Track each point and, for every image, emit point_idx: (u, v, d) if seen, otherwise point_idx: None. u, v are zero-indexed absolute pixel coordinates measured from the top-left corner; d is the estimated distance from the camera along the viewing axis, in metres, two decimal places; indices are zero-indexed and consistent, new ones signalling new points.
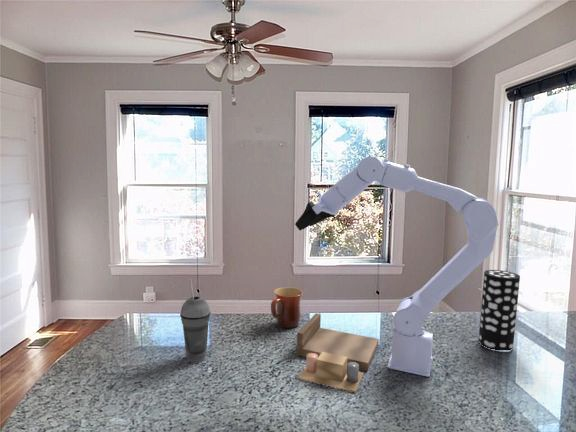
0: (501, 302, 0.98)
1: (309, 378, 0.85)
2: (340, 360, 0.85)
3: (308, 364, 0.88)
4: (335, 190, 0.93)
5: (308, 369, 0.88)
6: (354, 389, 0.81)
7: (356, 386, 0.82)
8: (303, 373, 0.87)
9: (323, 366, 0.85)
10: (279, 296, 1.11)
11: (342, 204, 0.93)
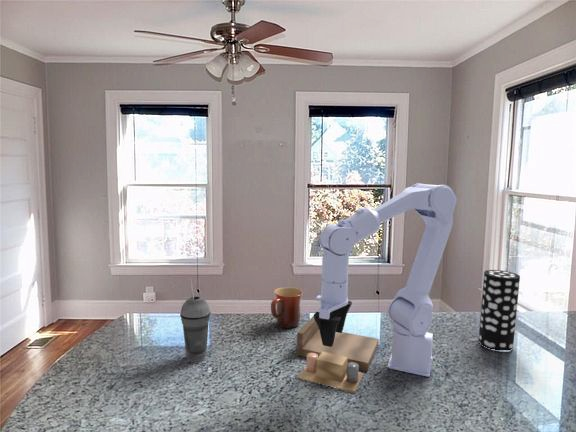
0: (501, 302, 0.98)
1: (309, 378, 0.85)
2: (340, 360, 0.85)
3: (308, 364, 0.88)
4: (325, 283, 0.82)
5: (308, 369, 0.88)
6: (353, 389, 0.81)
7: (356, 386, 0.82)
8: (303, 373, 0.87)
9: (322, 365, 0.85)
10: (279, 296, 1.11)
11: (343, 289, 0.82)
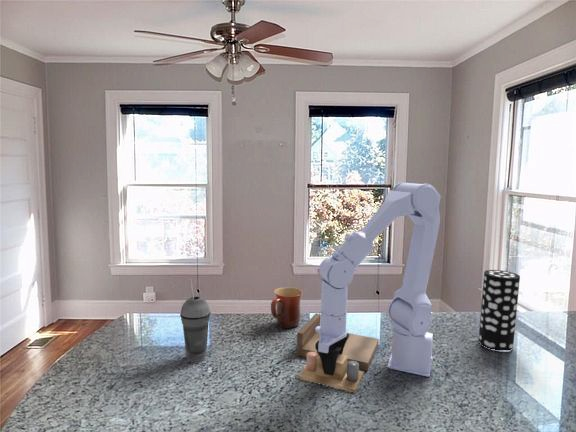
0: (501, 302, 0.98)
1: (309, 376, 0.85)
2: (340, 359, 0.85)
3: (308, 363, 0.88)
4: (324, 316, 0.83)
5: (308, 368, 0.88)
6: (354, 388, 0.81)
7: (356, 385, 0.82)
8: (303, 372, 0.87)
9: None
10: (279, 296, 1.11)
11: (342, 322, 0.83)
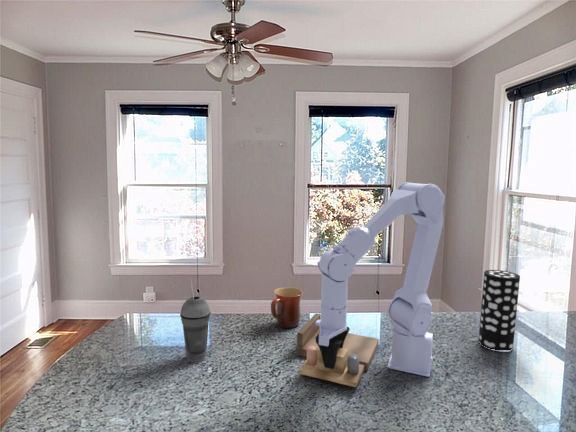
0: (501, 302, 0.98)
1: (309, 370, 0.85)
2: (340, 352, 0.85)
3: (308, 357, 0.87)
4: (325, 309, 0.83)
5: (308, 362, 0.88)
6: (355, 381, 0.81)
7: (357, 378, 0.82)
8: (303, 366, 0.87)
9: None
10: (279, 296, 1.11)
11: (342, 315, 0.83)
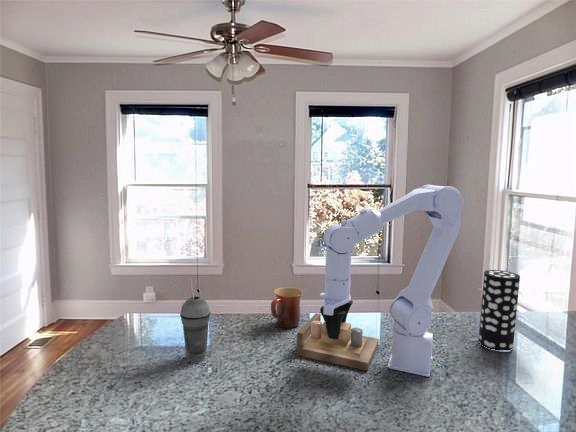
0: (501, 302, 0.98)
1: (314, 343, 0.87)
2: (344, 326, 0.88)
3: (313, 330, 0.90)
4: (329, 281, 0.85)
5: (313, 335, 0.90)
6: (358, 352, 0.83)
7: (360, 350, 0.85)
8: (308, 339, 0.89)
9: None
10: (279, 296, 1.11)
11: (346, 286, 0.85)
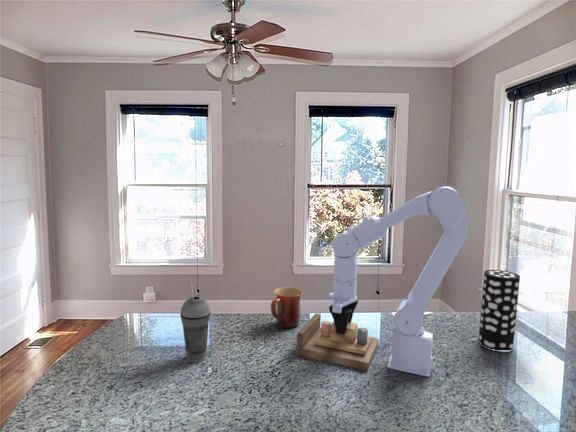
0: (501, 302, 0.98)
1: (324, 341, 0.97)
2: (351, 326, 0.97)
3: (323, 330, 0.99)
4: (337, 282, 0.95)
5: (323, 334, 1.00)
6: (364, 349, 0.93)
7: (365, 347, 0.94)
8: (318, 338, 0.99)
9: None
10: (279, 296, 1.11)
11: (352, 287, 0.95)
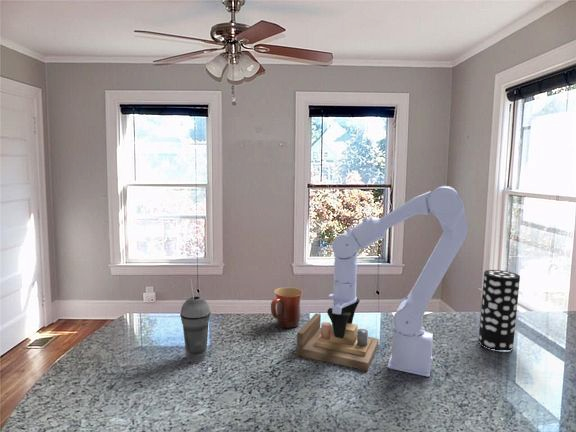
0: (501, 302, 0.98)
1: (324, 343, 0.97)
2: (351, 327, 0.97)
3: (323, 331, 0.99)
4: (337, 283, 0.95)
5: (323, 336, 1.00)
6: (364, 351, 0.93)
7: (366, 348, 0.94)
8: (318, 339, 0.99)
9: None
10: (279, 296, 1.11)
11: (352, 288, 0.95)
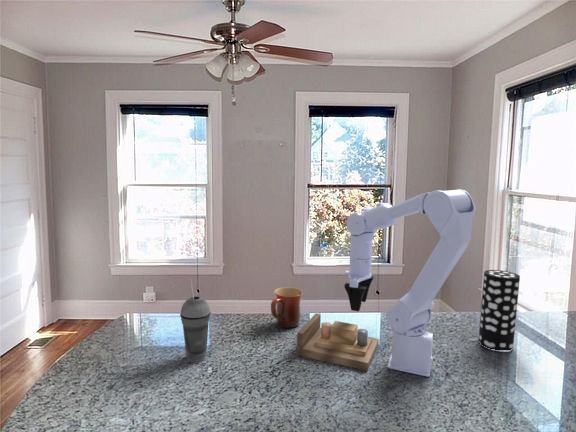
0: (501, 302, 0.98)
1: (324, 343, 0.97)
2: (351, 327, 0.97)
3: (323, 331, 0.99)
4: (353, 260, 1.01)
5: (323, 336, 1.00)
6: (364, 351, 0.93)
7: (366, 348, 0.94)
8: (318, 339, 0.99)
9: (336, 332, 0.97)
10: (279, 296, 1.11)
11: (368, 264, 1.01)
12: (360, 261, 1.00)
